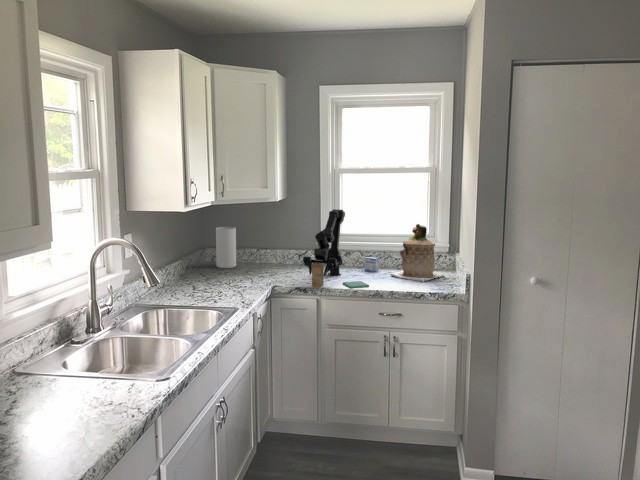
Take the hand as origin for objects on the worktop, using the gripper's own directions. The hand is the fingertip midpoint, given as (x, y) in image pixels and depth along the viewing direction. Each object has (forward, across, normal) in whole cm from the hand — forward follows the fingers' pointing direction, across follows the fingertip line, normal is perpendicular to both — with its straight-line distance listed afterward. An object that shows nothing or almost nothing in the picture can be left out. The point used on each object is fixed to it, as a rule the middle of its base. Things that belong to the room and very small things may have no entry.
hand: (317, 274), depth 296 cm
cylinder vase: (-21, -72, +30) cm, 81 cm away
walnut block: (+4, 0, +6) cm, 7 cm away
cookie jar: (-27, +48, +37) cm, 67 cm away
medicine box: (-32, +19, +42) cm, 56 cm away
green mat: (-2, +19, +12) cm, 23 cm away
